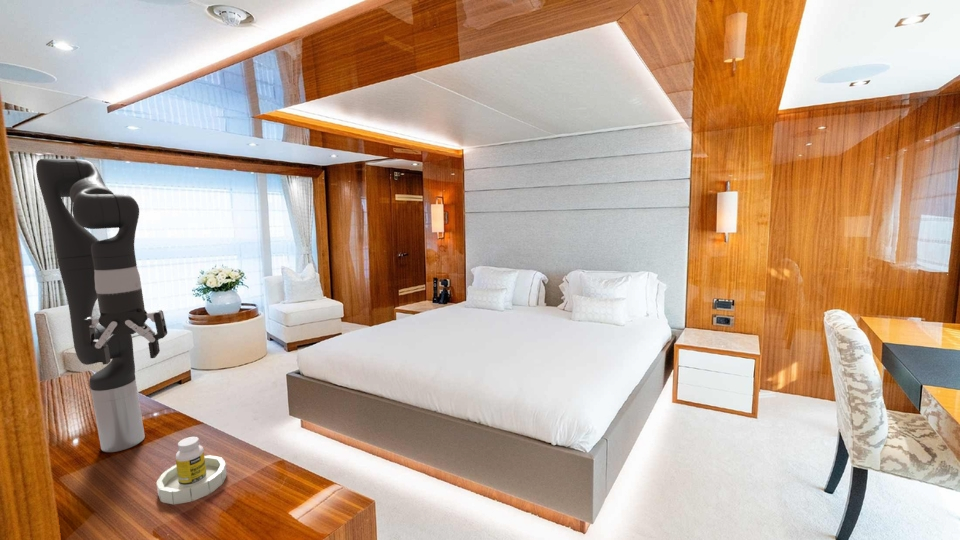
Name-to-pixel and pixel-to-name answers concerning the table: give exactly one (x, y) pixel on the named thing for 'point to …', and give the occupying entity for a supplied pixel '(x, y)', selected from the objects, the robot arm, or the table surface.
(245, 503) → the table surface
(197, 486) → the sage bowl
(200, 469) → the supplement bottle
